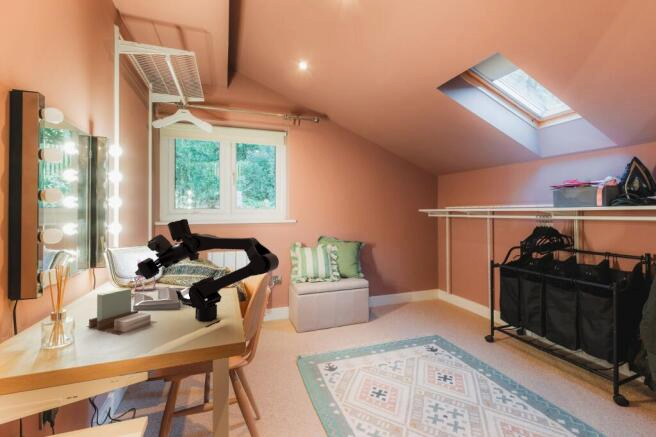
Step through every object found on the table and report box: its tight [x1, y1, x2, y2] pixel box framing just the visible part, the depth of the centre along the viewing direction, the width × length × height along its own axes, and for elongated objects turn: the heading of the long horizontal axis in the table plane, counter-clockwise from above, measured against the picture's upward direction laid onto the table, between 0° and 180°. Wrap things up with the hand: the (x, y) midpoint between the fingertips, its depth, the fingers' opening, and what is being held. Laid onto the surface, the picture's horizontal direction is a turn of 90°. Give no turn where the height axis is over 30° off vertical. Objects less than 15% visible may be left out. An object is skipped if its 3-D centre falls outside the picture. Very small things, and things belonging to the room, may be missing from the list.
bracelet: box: [125, 277, 145, 297], centre depth 135 cm, size 7×3×8 cm, turn 116°
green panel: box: [96, 287, 132, 321], centre depth 96 cm, size 2×9×10 cm, turn 156°
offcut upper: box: [114, 312, 152, 327], centre depth 93 cm, size 5×8×2 cm, turn 156°
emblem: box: [132, 286, 191, 311], centre depth 122 cm, size 28×5×28 cm
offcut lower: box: [114, 319, 152, 333], centre depth 93 cm, size 5×8×2 cm, turn 157°
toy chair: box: [133, 258, 156, 293], centre depth 147 cm, size 8×9×15 cm
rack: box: [86, 310, 157, 336], centre depth 95 cm, size 16×12×4 cm
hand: (145, 267), depth 107 cm, fingers open, 9 cm apart
